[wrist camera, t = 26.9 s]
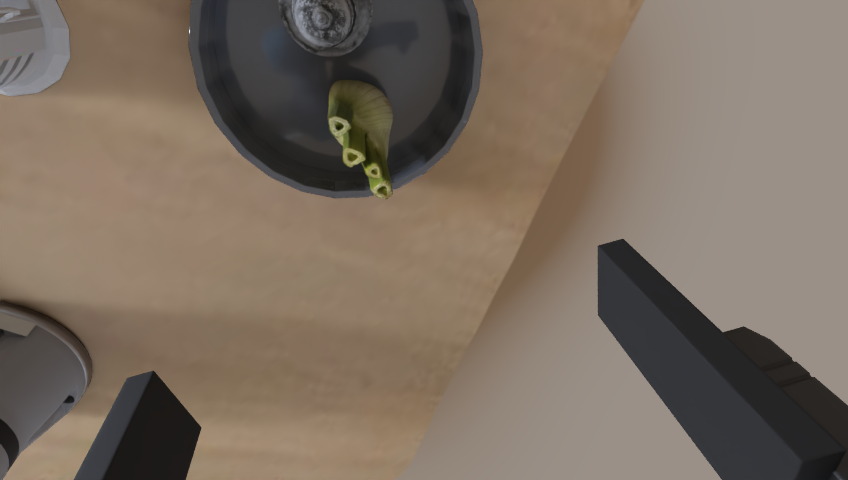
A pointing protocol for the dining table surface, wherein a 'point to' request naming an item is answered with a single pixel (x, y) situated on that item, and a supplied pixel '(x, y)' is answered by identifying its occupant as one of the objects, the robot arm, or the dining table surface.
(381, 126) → the fennel bulb
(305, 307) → the dining table surface
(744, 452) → the robot arm
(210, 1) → the pan
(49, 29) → the french press
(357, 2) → the salt shaker
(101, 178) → the dining table surface
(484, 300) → the dining table surface
